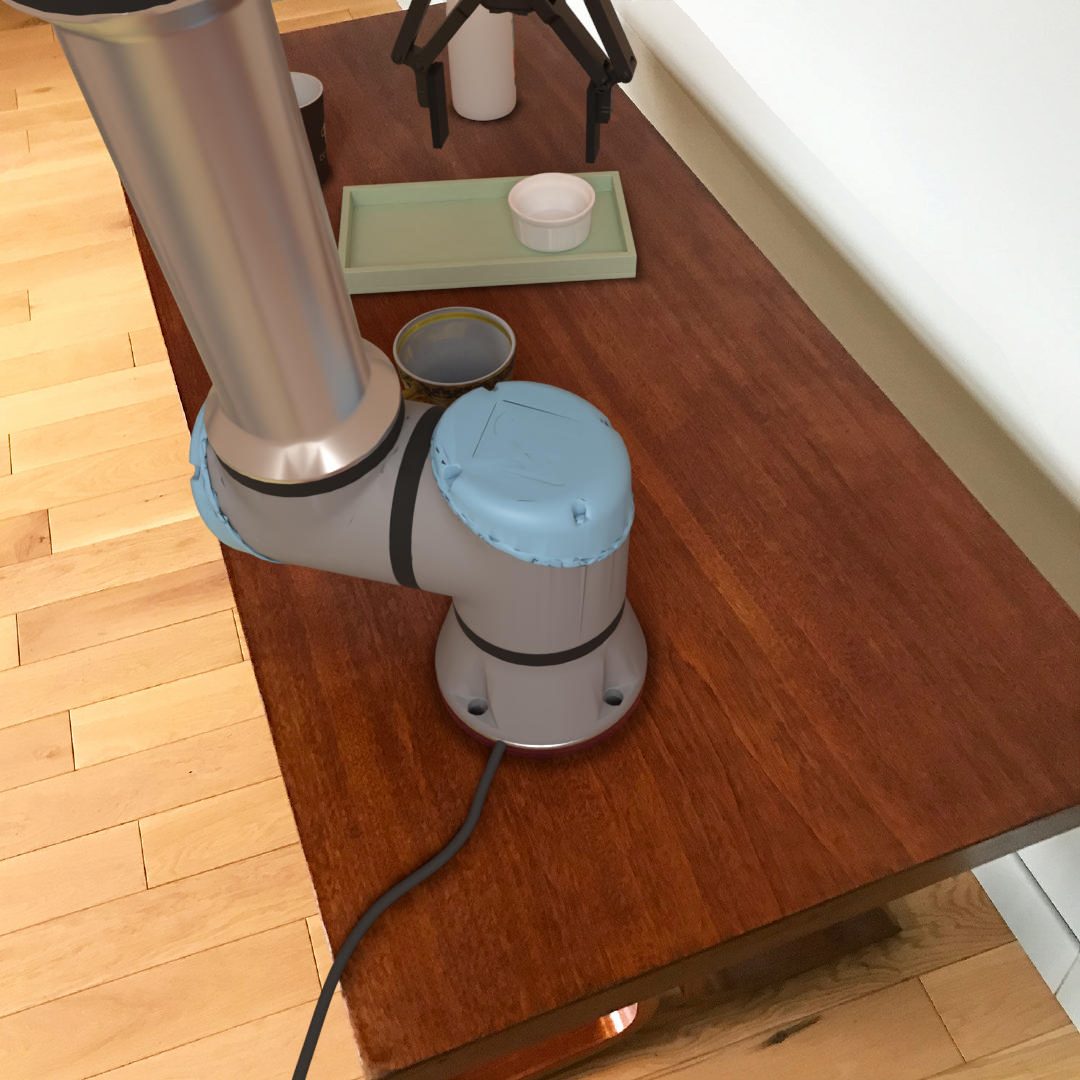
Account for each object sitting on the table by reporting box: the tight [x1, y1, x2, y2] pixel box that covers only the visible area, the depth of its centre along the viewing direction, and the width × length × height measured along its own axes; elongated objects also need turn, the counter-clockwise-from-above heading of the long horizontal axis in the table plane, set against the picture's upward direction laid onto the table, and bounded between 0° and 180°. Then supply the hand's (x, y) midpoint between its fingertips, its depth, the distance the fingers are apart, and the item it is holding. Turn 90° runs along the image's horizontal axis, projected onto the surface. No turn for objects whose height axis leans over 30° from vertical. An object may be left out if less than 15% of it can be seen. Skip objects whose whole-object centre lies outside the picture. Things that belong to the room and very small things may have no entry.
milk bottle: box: [445, 0, 517, 122], centre depth 127 cm, size 8×8×20 cm
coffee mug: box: [290, 71, 329, 186], centre depth 123 cm, size 12×9×10 cm
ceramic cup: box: [392, 306, 517, 408], centre depth 93 cm, size 13×10×10 cm
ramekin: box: [508, 172, 595, 253], centre depth 115 cm, size 9×9×4 cm
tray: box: [337, 170, 638, 295], centre depth 116 cm, size 16×30×3 cm, turn 94°
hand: (516, 148), depth 98 cm, fingers open, 13 cm apart
